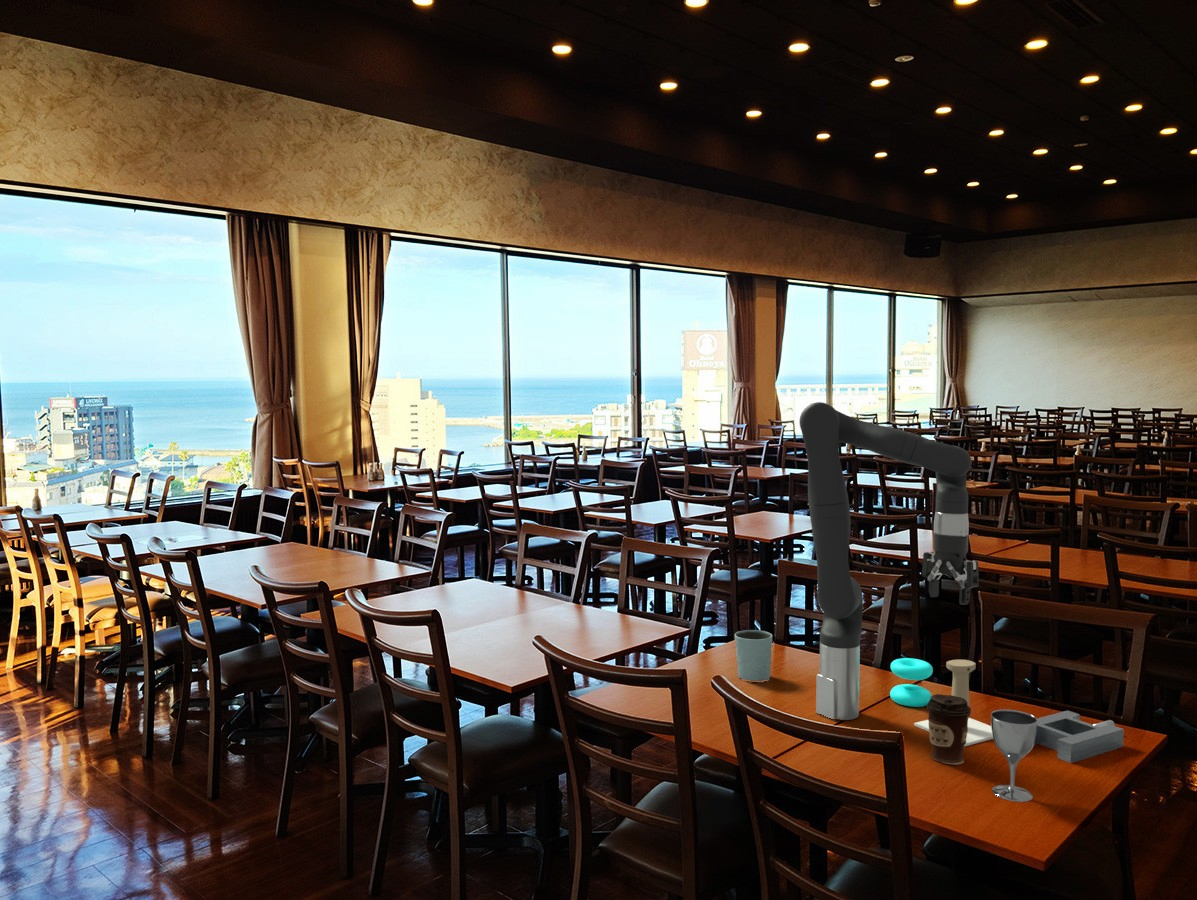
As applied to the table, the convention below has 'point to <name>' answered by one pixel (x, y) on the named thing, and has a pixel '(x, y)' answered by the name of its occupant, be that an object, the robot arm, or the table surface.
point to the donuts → (909, 692)
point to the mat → (974, 734)
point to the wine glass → (1013, 747)
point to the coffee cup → (948, 727)
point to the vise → (1077, 736)
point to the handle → (961, 677)
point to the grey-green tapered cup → (753, 654)
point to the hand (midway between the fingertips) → (948, 600)
